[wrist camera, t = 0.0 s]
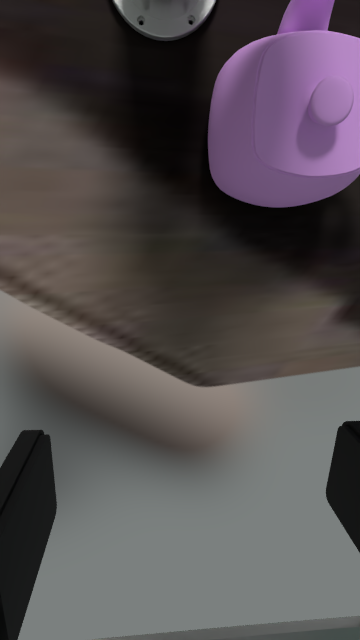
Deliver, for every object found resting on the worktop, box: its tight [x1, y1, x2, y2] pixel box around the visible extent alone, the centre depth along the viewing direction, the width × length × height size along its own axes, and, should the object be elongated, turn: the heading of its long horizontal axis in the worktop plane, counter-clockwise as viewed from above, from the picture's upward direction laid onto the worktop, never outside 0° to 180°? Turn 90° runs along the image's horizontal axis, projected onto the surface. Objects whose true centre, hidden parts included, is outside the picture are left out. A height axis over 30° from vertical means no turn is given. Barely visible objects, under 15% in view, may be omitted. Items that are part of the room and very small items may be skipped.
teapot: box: [208, 0, 360, 207], centre depth 35 cm, size 23×21×15 cm
